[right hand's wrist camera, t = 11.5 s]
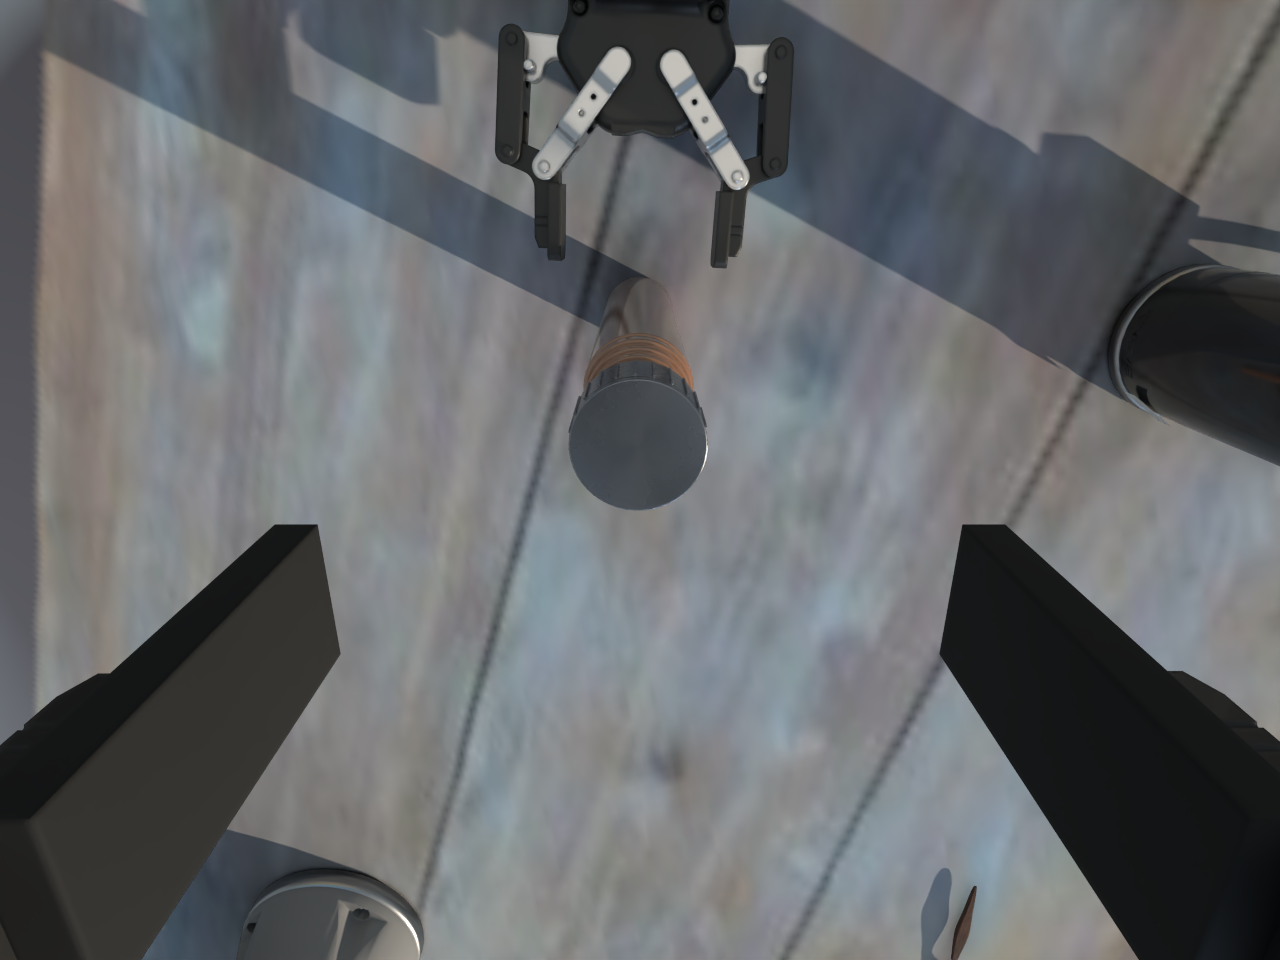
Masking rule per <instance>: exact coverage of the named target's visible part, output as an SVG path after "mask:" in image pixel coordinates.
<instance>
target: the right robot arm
mask: <svg viewBox="0 0 1280 960" xmlns="http://www.w3.org/2000/svg"><path fill="white" fill-rule="evenodd" d="M339 655H340V648H339V643H338V637H337V631H336V626H335V620H334V615H333V609H332V603H331V598H330V592H329V586H328V581H327V575H326V570H325V564H324V558H323V553H322V547H321V541H320V536H319V530H318V525H274V526H273V527H272V528H271V529H269V530H268V531H267V532H266V533H265V534H264V535H263V536H262V537H261V538H260V539H258V540H257V541H256V542H255V543H254V544H253V545H252V546H251V547H250V548H248V549H247V550H246V551H245V552H244V553H243V554H242V555H241V556H240V557H238V558H237V559H236V560H235V561H234V562H233V563H232V564H231V565H230V566H229V567H227V568H226V569H225V570H224V571H223V572H222V573H221V574H220V575H219V576H217V577H216V578H215V579H214V580H213V581H212V582H211V583H210V584H209V585H207V586H206V587H205V588H204V589H203V590H202V591H201V592H200V593H199V594H198V595H196V596H195V597H194V598H193V599H192V600H191V601H190V602H189V603H188V604H186V605H185V606H184V607H183V608H182V609H181V610H180V611H179V612H178V613H177V614H175V615H174V616H173V617H172V618H171V619H170V620H169V621H168V622H167V623H165V624H164V625H163V626H162V627H161V628H160V629H159V630H158V631H157V632H155V633H154V634H153V635H152V636H151V637H150V638H149V639H148V640H147V641H146V642H144V643H143V644H142V645H141V646H140V647H139V648H138V649H137V650H136V651H134V652H133V653H132V654H131V655H130V656H129V657H128V658H127V659H126V660H124V661H123V662H122V663H121V664H120V665H119V666H118V667H117V668H116V669H115V670H113V671H112V672H111V673H110V674H97V675H95V676H93V677H91V678H89V679H88V680H86V681H84V682H82V683H81V684H79V685H77V686H75V687H73V688H72V689H70V690H68V691H66V692H64V693H63V694H61V695H59V696H57V697H56V698H55V699H53V700H52V701H51V702H50V703H49V704H48V705H46V706H45V707H44V708H43V709H42V710H41V711H40V712H38V713H37V714H36V715H35V716H34V717H33V718H31V719H30V720H29V721H28V722H27V723H26V724H24V729H23V730H18V731H16V732H15V733H14V734H13V735H12V736H10V737H9V738H8V739H7V740H6V741H5V742H3V743H2V744H1V745H0V960H141V959H142V958H143V956H144V955H145V953H146V951H147V950H148V948H149V947H150V945H151V944H152V942H153V941H154V939H155V938H156V936H157V935H158V933H159V932H160V930H161V928H162V927H163V925H164V924H165V922H166V921H167V919H168V918H169V916H170V915H171V913H172V912H173V910H174V909H175V907H176V905H177V904H178V902H179V901H180V899H181V898H182V896H183V895H184V893H185V892H186V890H187V889H188V887H189V885H190V884H191V882H192V881H193V879H194V878H195V876H196V875H197V873H198V872H199V870H200V869H201V867H202V866H203V864H204V862H205V861H206V859H207V858H208V856H209V855H210V853H211V852H212V850H213V849H214V847H215V846H216V844H217V843H218V841H219V839H220V838H221V836H222V835H223V833H224V832H225V830H226V829H227V827H228V826H229V824H230V823H231V821H232V820H233V818H234V816H235V815H236V813H237V812H238V810H239V809H240V807H241V806H242V804H243V803H244V801H245V800H246V798H247V797H248V795H249V793H250V792H251V790H252V789H253V787H254V786H255V784H256V783H257V781H258V780H259V778H260V777H261V775H262V774H263V772H264V770H265V769H266V767H267V766H268V764H269V763H270V761H271V760H272V758H273V757H274V755H275V754H276V752H277V751H278V749H279V747H280V746H281V744H282V743H283V741H284V740H285V738H286V737H287V735H288V734H289V732H290V731H291V729H292V728H293V726H294V724H295V723H296V721H297V720H298V718H299V717H300V715H301V714H302V712H303V711H304V709H305V708H306V706H307V705H308V703H309V701H310V700H311V698H312V697H313V695H314V694H315V692H316V691H317V689H318V688H319V686H320V685H321V683H322V682H323V680H324V678H325V677H326V675H327V674H328V672H329V671H330V669H331V668H332V666H333V665H334V663H335V662H336V660H337V659H338V657H339ZM940 655H941V657H942V659H943V660H944V662H945V663H946V665H947V666H948V668H949V669H950V671H951V672H952V674H953V675H954V677H955V678H956V680H957V682H958V683H959V685H960V686H961V688H962V689H963V691H964V692H965V694H966V695H967V697H968V698H969V700H970V701H971V703H972V705H973V706H974V708H975V709H976V711H977V712H978V714H979V715H980V717H981V718H982V720H983V721H984V723H985V724H986V726H987V728H988V729H989V731H990V732H991V734H992V735H993V737H994V738H995V740H996V741H997V743H998V744H999V746H1000V747H1001V749H1002V751H1003V752H1004V754H1005V755H1006V757H1007V758H1008V760H1009V761H1010V763H1011V764H1012V766H1013V767H1014V769H1015V770H1016V772H1017V774H1018V775H1019V777H1020V778H1021V780H1022V781H1023V783H1024V784H1025V786H1026V787H1027V789H1028V790H1029V792H1030V793H1031V795H1032V797H1033V798H1034V800H1035V801H1036V803H1037V804H1038V806H1039V807H1040V809H1041V810H1042V812H1043V813H1044V815H1045V816H1046V818H1047V820H1048V821H1049V823H1050V824H1051V826H1052V827H1053V829H1054V830H1055V832H1056V833H1057V835H1058V836H1059V838H1060V839H1061V841H1062V843H1063V844H1064V846H1065V847H1066V849H1067V850H1068V852H1069V853H1070V855H1071V856H1072V858H1073V859H1074V861H1075V862H1076V864H1077V866H1078V867H1079V869H1080V870H1081V872H1082V873H1083V875H1084V876H1085V878H1086V879H1087V881H1088V882H1089V884H1090V885H1091V887H1092V889H1093V890H1094V892H1095V893H1096V895H1097V896H1098V898H1099V899H1100V901H1101V902H1102V904H1103V905H1104V907H1105V908H1106V910H1107V912H1108V913H1109V915H1110V916H1111V918H1112V919H1113V921H1114V922H1115V924H1116V925H1117V927H1118V928H1119V930H1120V931H1121V933H1122V935H1123V936H1124V938H1125V939H1126V941H1127V942H1128V944H1129V945H1130V947H1131V948H1132V950H1133V951H1134V953H1135V954H1136V956H1137V958H1138V959H1139V960H1280V741H1278V740H1277V739H1276V738H1275V737H1274V736H1273V735H1271V734H1270V733H1269V732H1268V731H1267V730H1266V729H1264V728H1258V726H1257V722H1256V721H1255V720H1254V719H1253V718H1251V717H1250V716H1249V715H1248V714H1247V713H1246V712H1244V711H1243V710H1242V709H1241V708H1240V707H1239V706H1237V705H1236V704H1235V703H1234V702H1233V701H1232V700H1230V699H1229V698H1228V697H1227V696H1226V695H1225V694H1223V693H1221V692H1219V691H1217V690H1216V689H1214V688H1212V687H1210V686H1208V685H1207V684H1205V683H1203V682H1201V681H1199V680H1198V679H1196V678H1194V677H1192V676H1190V675H1189V674H1187V673H1185V672H1183V671H1167V670H1165V669H1164V668H1163V667H1162V666H1161V665H1160V664H1159V663H1158V662H1157V661H1156V660H1154V659H1153V658H1152V657H1151V656H1150V655H1149V654H1148V653H1147V652H1146V651H1144V650H1143V649H1142V648H1141V647H1140V646H1139V645H1138V644H1137V643H1136V642H1134V641H1133V640H1132V639H1131V638H1130V637H1129V636H1128V635H1127V634H1126V633H1125V632H1123V631H1122V630H1121V629H1120V628H1119V627H1118V626H1117V625H1116V624H1115V623H1113V622H1112V621H1111V620H1110V619H1109V618H1108V617H1107V616H1106V615H1105V614H1104V613H1102V612H1101V611H1100V610H1099V609H1098V608H1097V607H1096V606H1095V605H1094V604H1092V603H1091V602H1090V601H1089V600H1088V599H1087V598H1086V597H1085V596H1084V595H1082V594H1081V593H1080V592H1079V591H1078V590H1077V589H1076V588H1075V587H1074V586H1073V585H1071V584H1070V583H1069V582H1068V581H1067V580H1066V579H1065V578H1064V577H1063V576H1061V575H1060V574H1059V573H1058V572H1057V571H1056V570H1055V569H1054V568H1053V567H1051V566H1050V565H1049V564H1048V563H1047V562H1046V561H1045V560H1044V559H1043V558H1042V557H1040V556H1039V555H1038V554H1037V553H1036V552H1035V551H1034V550H1033V549H1032V548H1030V547H1029V546H1028V545H1027V544H1026V543H1025V542H1024V541H1023V540H1022V539H1020V538H1019V537H1018V536H1017V535H1016V534H1015V533H1014V532H1013V531H1012V530H1011V529H1009V528H1008V527H1007V526H1006V525H962V530H961V536H960V541H959V547H958V553H957V558H956V564H955V570H954V575H953V581H952V586H951V592H950V598H949V603H948V609H947V615H946V620H945V626H944V632H943V637H942V643H941V648H940ZM423 944H424V933H423V928H422V925H421V922H420V919H419V917H418V915H417V914H416V912H415V911H414V909H413V908H412V907H411V905H410V904H409V903H408V902H407V901H406V900H405V899H404V898H403V897H402V896H401V895H399V894H398V893H397V892H396V891H394V890H393V889H391V888H390V887H388V886H386V885H385V884H383V883H381V882H379V881H377V880H374V879H372V878H369V877H367V876H364V875H361V874H357V873H353V872H348V871H342V870H332V869H316V870H307V871H302V872H298V873H294V874H291V875H288V876H285V877H283V878H281V879H279V880H277V881H276V882H274V883H272V884H271V885H270V886H268V887H267V888H266V889H265V890H264V891H263V892H262V893H261V894H260V896H259V897H258V899H257V900H256V902H255V904H254V906H253V907H252V909H251V911H250V913H249V915H248V917H247V919H246V921H245V923H244V926H243V930H242V934H241V938H240V944H239V949H238V954H237V960H420V956H421V953H422V949H423Z"/></svg>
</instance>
